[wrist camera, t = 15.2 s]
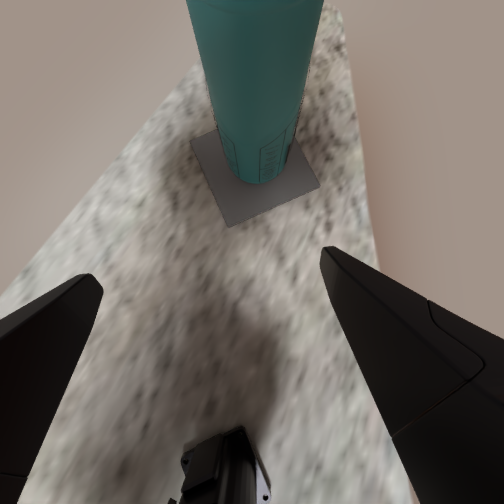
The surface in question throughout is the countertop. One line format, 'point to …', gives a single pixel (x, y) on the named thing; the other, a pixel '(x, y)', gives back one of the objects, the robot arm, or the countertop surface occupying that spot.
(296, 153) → the mat
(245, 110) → the beverage bottle
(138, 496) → the countertop surface
